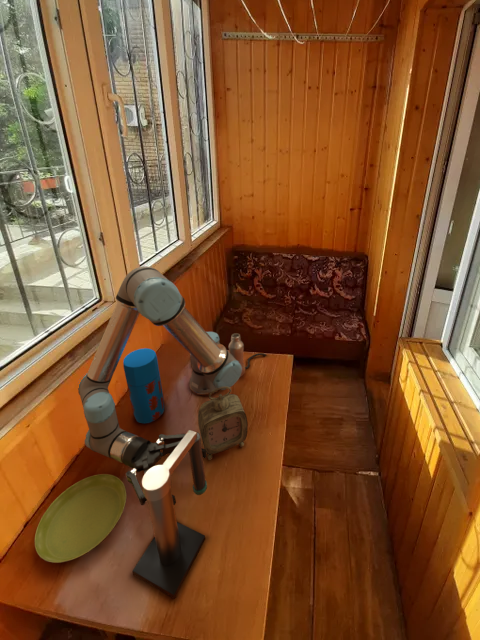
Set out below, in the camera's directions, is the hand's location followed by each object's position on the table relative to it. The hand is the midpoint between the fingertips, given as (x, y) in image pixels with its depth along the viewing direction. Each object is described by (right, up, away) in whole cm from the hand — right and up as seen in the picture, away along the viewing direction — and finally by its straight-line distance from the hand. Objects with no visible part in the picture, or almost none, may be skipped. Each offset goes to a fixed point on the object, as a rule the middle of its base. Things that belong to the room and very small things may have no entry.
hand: (191, 475), depth 86 cm
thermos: (-26, +1, +32) cm, 41 cm away
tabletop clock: (+5, -4, +20) cm, 21 cm away
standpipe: (-2, -14, -9) cm, 16 cm away
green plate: (-28, -11, -2) cm, 30 cm away
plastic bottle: (+5, +8, +52) cm, 53 cm away
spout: (0, -6, -5) cm, 8 cm away
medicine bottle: (-15, +11, +60) cm, 63 cm away
